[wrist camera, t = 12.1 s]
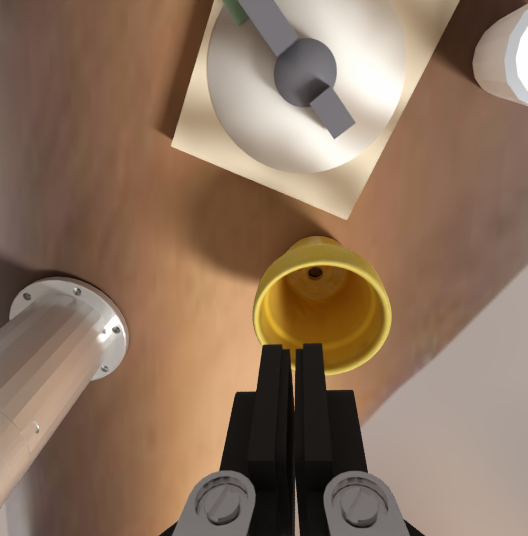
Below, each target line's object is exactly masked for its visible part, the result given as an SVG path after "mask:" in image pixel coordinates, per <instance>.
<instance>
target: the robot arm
mask: <svg viewBox="0 0 528 536" xmlns="http://www.w3.org/2000/svg"><path fill="white" fill-rule="evenodd" d="M128 343H129V334H128V328H127V325H126V322H125V319H124V317H123V315H122V314H121V312H120V310H119V309H118V307H117V306H116V305H115V304H114V303H113V301H112V300H111V299H110V298H109V297H107V296H106V295H105V294H104V293H103V292H102V291H100V290H98V289H97V288H95V287H93V286H92V285H90V284H87V283H85V282H83V281H80V280H77V279H73V278H69V277H47V278H43V279H40V280H37V281H35V282H33V283H32V284H30V285H28V286H27V287H26V288H24V289H23V290H22V291H20V293H19V294H18V295H17V296H16V298H15V299H14V301H13V303H12V305H11V308H10V315H9V322H8V323H6V324H5V325H4V326H3V327H2V328H0V508H1V507H2V505H3V504H4V502H5V501H6V499H7V498H8V496H9V495H10V493H11V492H12V491H13V489H14V488H15V486H16V485H17V483H18V482H19V481H20V479H21V478H22V476H23V475H24V474H25V472H26V471H27V470H28V468H29V467H30V465H31V464H32V462H33V461H34V460H35V458H36V457H37V455H38V454H39V453H40V451H41V450H42V448H43V447H44V445H45V444H46V443H47V441H48V440H49V438H50V437H51V436H52V434H53V433H54V431H55V430H56V428H57V427H58V426H59V424H60V423H61V421H62V420H63V419H64V417H65V416H66V414H67V413H68V411H69V410H70V409H71V407H72V406H73V404H74V403H75V402H76V400H77V399H78V397H79V396H80V394H81V393H82V392H83V390H84V389H85V387H86V386H87V385H88V383H89V382H90V381H92V380H96V379H100V378H102V377H104V376H106V375H108V374H110V373H111V372H112V371H114V370H115V369H116V368H117V367H118V365H119V364H120V363H121V361H122V360H123V358H124V356H125V354H126V352H127V348H128ZM295 478H296V490H297V502H298V515H299V528H300V536H425V535H423V534H422V533H421V532H420V531H418V530H417V529H416V528H414V527H413V526H411V525H410V524H409V523H408V522H407V521H405V520H404V519H403V517H402V514H401V512H400V509H399V507H398V504H397V502H396V499H395V497H394V495H393V493H392V492H391V490H390V488H389V487H388V486H387V485H386V484H385V483H384V482H383V481H382V480H381V479H379V478H377V477H375V476H373V475H372V474H369V473H368V471H367V465H366V459H365V453H364V448H363V442H362V436H361V431H360V425H359V419H358V414H357V408H356V402H355V397H354V392H353V390H326V382H325V371H324V359H323V348H322V343H303V349H296V357H295V410H294V397H293V383H292V370H291V357H290V349H283V346H282V344H268V345H263V348H262V355H261V362H260V369H259V376H258V383H257V390H256V392H237V393H236V394H235V398H234V403H233V407H232V412H231V417H230V422H229V427H228V432H227V436H226V441H225V446H224V451H223V456H222V461H221V465H220V470H219V472H215V473H212V474H210V475H208V476H206V477H204V478H203V479H202V480H201V481H199V482H198V483H197V484H196V485H195V487H194V488H193V490H192V492H191V493H190V495H189V497H188V500H187V502H186V504H185V507H184V509H183V511H182V514H181V516H180V518H179V521H177V522H176V523H175V524H174V525H172V526H171V527H170V528H168V529H167V530H166V531H164V532H163V533H162V534H160V535H159V536H295Z"/></svg>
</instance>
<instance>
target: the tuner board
mask: <svg viewBox="0 0 528 536" xmlns="http://www.w3.org/2000/svg"><path fill="white" fill-rule="evenodd" d="M274 1H275V3H276V4H277V6H278V7H279V9H280V10H281V12H282V13H283V15H284V16H285V18H286V19H287V21H288V22H289V24H290V25H291V27H292V28H293V30H294V31H295V33H296V34H297V36H298V38H299V39H301V38H312V39H316V40H319V41H320V42H322V43H324V44H325V45H326V46H327V47H328V48H329V49H330V50H331V52H332V54H333V55H334V58H335V61H336V66H337V77H336V82H335V85H334V87H333V89H334V91H335V92H336V94H337V95H338V97H339V98H340V100H341V101H342V103H343V104H344V106H345V107H346V109H347V110H348V112H349V113H350V115H351V116H352V118H353V119H354V121H355V122H356V123H355V124H354V125H353V126H351V127H350V128H349V129H347V130H346V131H345V132H344V133H342V134H341V135H340V136H338V137H337V138H336V139H334V138H333V137H332V136H331V134H330V133H329V131H328V130H327V128H326V127H325V125H324V124H323V123H322V121H321V120H320V118H319V117H318V115H317V114H316V112H315V111H314V110H313V108H312V107H297V106H294V105H292V104H290V103H288V102H287V101H285V100H284V99H283V98H282V96H281V95H280V94H279V92H278V90H277V88H276V85H275V81H274V67H275V63H276V60H277V56H276V55H275V54H274V52H273V51H272V49H271V48H270V46H269V45H268V43H267V42H266V41H265V39H264V38H263V36H262V35H261V33H260V32H259V30H258V29H257V28H256V26H255V25H254V23H253V22H252V20H251V19H250V18H249V16H248V15H247V13H246V12H245V10H244V9H243V7H242V6H241V5H240V3H239V2H238V0H214V2H213V6H212V9H211V12H210V16H209V19H208V23H207V26H206V29H205V33H204V36H203V40H202V43H201V46H200V50H199V53H198V57H197V60H196V63H195V67H194V70H193V73H192V77H191V80H190V84H189V87H188V90H187V94H186V97H185V101H184V104H183V107H182V111H181V114H180V117H179V121H178V124H177V128H176V131H175V134H174V138H173V141H172V145H171V147H174V148H176V149H179V150H181V151H183V152H186V153H188V154H190V155H193V156H195V157H198V158H200V159H202V160H205V161H207V162H209V163H212V164H214V165H217V166H219V167H221V168H224V169H226V170H229V171H231V172H233V173H236V174H238V175H240V176H243V177H245V178H248V179H250V180H252V181H255V182H257V183H259V184H262V185H264V186H267V187H269V188H271V189H274V190H276V191H279V192H281V193H283V194H286V195H288V196H290V197H293V198H295V199H298V200H300V201H302V202H305V203H307V204H310V205H312V206H314V207H317V208H319V209H321V210H324V211H326V212H329V213H331V214H333V215H336V216H338V217H340V218H343V219H345V220H347V219H348V217H349V215H350V213H351V211H352V209H353V207H354V205H355V203H356V201H357V199H358V197H359V195H360V194H361V192H362V190H363V188H364V186H365V184H366V182H367V180H368V178H369V176H370V174H371V172H372V170H373V168H374V166H375V164H376V162H377V160H378V159H379V157H380V155H381V153H382V151H383V149H384V147H385V145H386V143H387V141H388V139H389V137H390V135H391V133H392V131H393V129H394V127H395V125H396V124H397V122H398V120H399V118H400V116H401V114H402V112H403V110H404V108H405V106H406V104H407V102H408V100H409V98H410V96H411V94H412V92H413V90H414V89H415V87H416V85H417V83H418V81H419V79H420V77H421V75H422V73H423V71H424V69H425V67H426V65H427V63H428V61H429V59H430V57H431V55H432V54H433V52H434V50H435V48H436V46H437V44H438V42H439V40H440V38H441V36H442V34H443V32H444V30H445V28H446V26H447V24H448V22H449V20H450V19H451V17H452V15H453V13H454V11H455V9H456V7H457V5H458V3H459V1H460V0H274Z"/></svg>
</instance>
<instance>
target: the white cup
mask: <svg viewBox="0 0 528 536" xmlns="http://www.w3.org/2000/svg"><path fill="white" fill-rule="evenodd" d="M472 65H473V71H474V77H475V79H476V81H477V82H478V84H479V85H480V87H481V88H482V89H483V90H485V91H487V92H488V93H490V94H492V95H494V96H497V97H501V98H504V99H507V100H510V101H513V102H517V103H520V104H523V105H526V106H528V4H526V5H524V6H523V7H521V8H519V9H517V10H516V11H514V12H512V13H510V14H508V15H507V16H505V17H503V18H501V19H499V20H498V21H497V22H496V23H494V24H493V25H492V26H491V27H490V28H489V29H488V30H486V31H485V32H484V34H483V36H482V37H481V39H480V41H479V42H478V44H477V46H476V48H475V52H474V57H473V62H472Z"/></svg>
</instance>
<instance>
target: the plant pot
mask: <svg viewBox="0 0 528 536" xmlns="http://www.w3.org/2000/svg"><path fill="white" fill-rule="evenodd" d="M313 267H318V268H320V269H321V270H322V274H321V275H320V276H319V277H311V276H310V275H309V270H310V269H311V268H313ZM253 326H254V330H255V333H256V336H257V338H258V341H259V342H260V344H261V345H262V347H263V345H268V344H282V346H283V349H290V357H291V370H294V371H295V357H296V349H303V343H322V348H323V359H324V371H325V375H334V374H339V373H343V372H347V371H350V370H352V369H355V368H357V367H358V366H360V365H362V364H363V363H365V362H366V361H368V360H369V359H370V358H372V357H373V356H374V355H375V354H376V353H377V351H378V350H379V349H380V348H381V346H382V345H383V343H384V342H385V340H386V338H387V336H388V333H389V330H390V326H391V306H390V302H389V299H388V296H387V293H386V291H385V288H384V286H383V284H382V282H381V280H380V278H379V276H378V274H377V273H376V271H375V270H374V268H373V267H372V266H371V265H370V264H369V262H368V261H366V260H365V259H364V258H363V257H362V256H360V255H359V254H357V253H355V252H354V251H351V250H349V249H347V248H344V247H343V246H342V245H341V244H340V243H339V242H337V241H336V240H334V239H331V238H328V237H324V236H310V237H306V238H303V239H301V240H299V241H297V242H296V243H295V244H293V245H292V246H291V247H290V248H289V249H288V251H287V252H286V253H285V254H284V255H282V256H281V257H279V258H278V259H277V260H276V261H274V262H273V263H272V264H271V265H270V267H269V268H268V269H267V270H266V272H265V273H264V275H263V277H262V278H261V281H260V283H259V286H258V289H257V292H256V297H255V301H254V306H253Z"/></svg>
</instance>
